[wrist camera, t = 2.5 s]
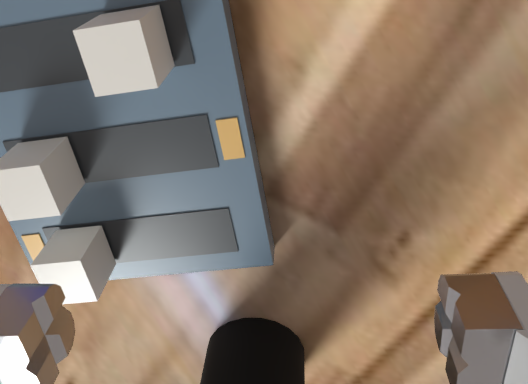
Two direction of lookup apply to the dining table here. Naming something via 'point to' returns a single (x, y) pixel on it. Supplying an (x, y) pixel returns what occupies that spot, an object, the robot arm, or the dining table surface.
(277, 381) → the wine bottle
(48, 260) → the tab
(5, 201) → the tab
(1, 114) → the switch board
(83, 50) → the tab
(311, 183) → the dining table surface
